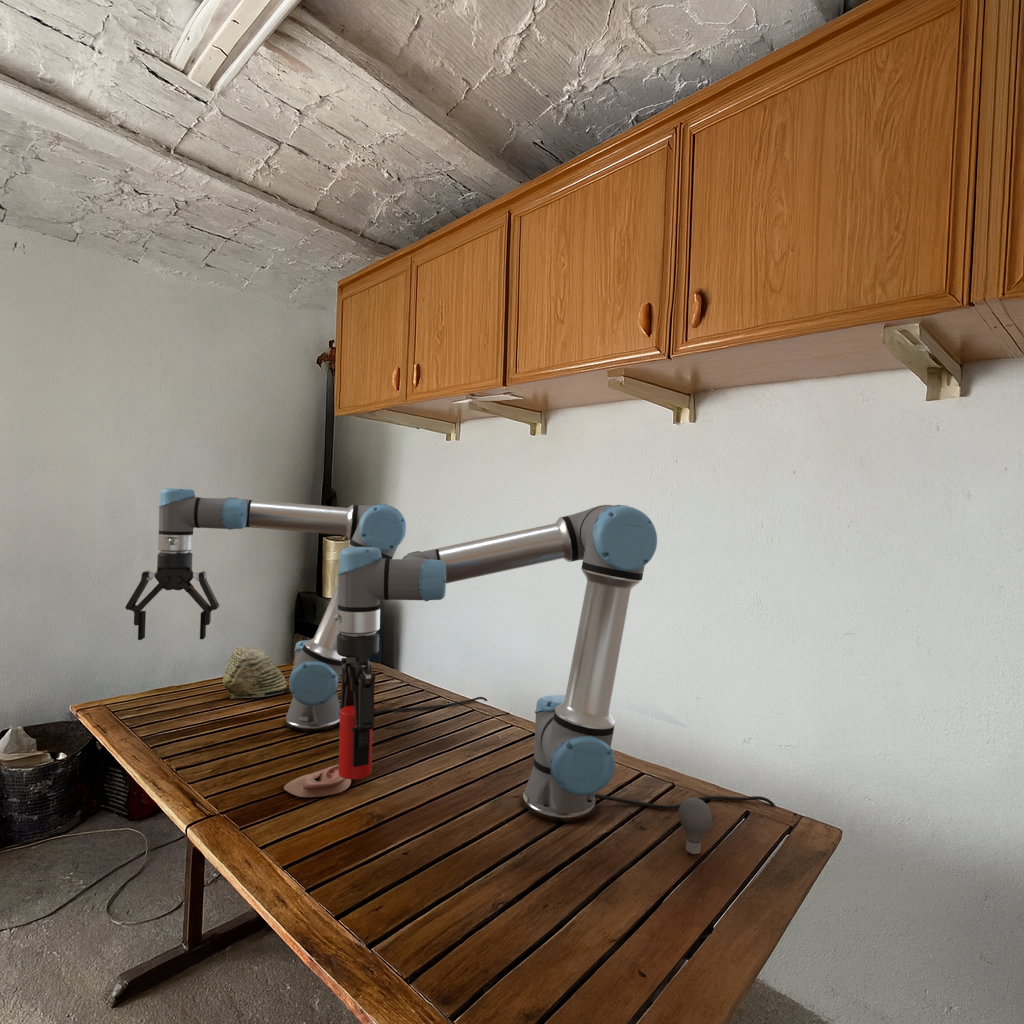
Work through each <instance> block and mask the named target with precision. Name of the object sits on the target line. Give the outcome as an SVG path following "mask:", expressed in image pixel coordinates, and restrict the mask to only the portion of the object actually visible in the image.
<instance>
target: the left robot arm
mask: <svg viewBox="0 0 1024 1024" xmlns="http://www.w3.org/2000/svg"><path fill="white" fill-rule="evenodd" d="M244 528H251V529H253V528H254V529H263V530H264V529H265V530H278V531H290V532H302V533H303V532H304V533H312V534H313V533H314V534H315V533H316V534H326V535H340V536H346V537H347V539H349V540H350V542H349V544H348V546H349V547H374V548H379V549H380V550H381V555H382V558H386V559H394V556H395V553H396V551H397V549H398V547H399V546H400V545H401V544H402V542H403V541H404V539H405V537H406V533H407V523H406V520H405V517H404V515H403V514H402V512H401V511H399V509H398V508H396V507H395V506H393V505H389V504H386V503H376V504H369V505H368V504H367V505H364V504H363V505H362V504H361V505H358V504H351V505H350V506H349V507H339V506H328V505H316V504H306V503H295V502H283V501H282V502H281V501H271V500H270V501H269V500H259V499H247V498H239V497H232V496H231V497H230V496H229V497H225V498H224V497H221V498H220V497H199V496H196V494H195V490H194V489H193V488H192V489H191V488H188V489H187V488H171V487H170V488H169V487H167V488H166V487H165V488H163V489H161V491H160V495H159V505H158V533H157V534H158V535H157V550H158V551H160V552H158V553H157V562H156V571H150V570H145V571H143V572H142V573H141V577H140V581H139V583H138V584H137V586H136V588H135V589H134V591H133V593H132V595H131V597H130V598H129V600H128V602H127V603H126V605H125V606H124V607H125V610H128V611H132V612H133V625H134V626H137V641H142V640H143V639H145V638H146V621H147V620H146V619H147V617H146V615H147V611H146V610H143V609H144V608H145V607H146V606H147V605H148V604H149V603H150V602H151V601H152V600H153V599H155V597H156V596H157V595H158V594H159V593H160V592H161V591H162V590H163V589H164V590H165V591H172V590H174V591H182V590H184V591H185V592H186V593H187V594H188V595H189V596H190V597H191V598H192V599H193V600H194V601H195V603H196V604H197V605H198V606H199V607H200V608H201V609H202V611H201V612H200V619H199V640H204V639H205V638H206V637H207V634H206V633H207V626H209V625H210V624H211V622H212V611H215V610H216V611H217V610H218V609H219V608H220V603H219V601H218V599H217V597H216V596H215V594H214V592H213V590H212V588H211V586H210V584H209V581H208V579H207V572H206V571H204V570H202V571H201V572H194V571H193V553H192V552H191V551H193V549H194V529H215V530H217V529H221V530H230V531H231V530H242V529H244ZM153 579H155V580H156V581H157V582H158V583H157V584H156V586H154V588H153V589H152V590H151V591H150V592H149V593H148V594H147V595H146V596H145V597H144V598H143V599H142V600H141V601H140V602H139V603H138V601H139V599H140V597H141V596H142V595H143V593H144V591H145V589H146V587H147V586H148V584H149V582H150V581H152V580H153ZM193 579H195V580H196V581H197V582H199V585H200V587H201V589H202V591H203V593H204V595H205V597H206V599H207V601H208V602H207V601H206V599H205V598H204V597H203V596H202V595H201V594H200V593H199V591H198V590H197V589H196V588H195V586H194V585H193V584H192V582H191V581H192V580H193ZM137 603H138V604H137ZM336 615H338V584H337V585H336V587H335V590H334V591H333V594H332V597H331V598H330V601H329V603H328V606H327V607H326V609H325V613H324V614H323V616H322V619H321V621H320V623H319V625H318V628H317V630H316V632H315V634H314V636H313V638H312V639H306V640H305V639H303V640H299V641H297V642H296V643H295V648H294V663H293V667H292V670H291V673H290V674H289V678H288V687H289V692H290V695H291V696H292V699H291V702H290V704H289V708H288V711H287V713H286V715H285V726H286V728H287V729H289V730H291V731H294V732H295V731H296V732H301V733H316V732H325V731H329V730H332V729H335V728H337V727H340V710H341V708H340V705H341V701H340V699H339V695H338V688H339V686H338V685H339V680H340V677H341V676H342V664H341V659H342V658H346V657H343V656H340V655H338V653H337V635H338V634H339V633H340V632H339V631H338V630H337V628H338V621H336V620H335V616H336ZM478 700H483V701H484V702H488V699H487V698H486V697H483V696H476V697H474V698H471V699H465V700H460V701H456V702H451V703H444V704H437V705H427V706H413V707H399V708H386V709H379V710H376V711H375V710H374V715H377V714H382V713H389V712H403V711H404V712H405V711H417V710H418V711H419V710H420V711H421V710H429V709H439V708H446V707H452V706H457V705H461V704H466V703H467V704H468V703H472V702H474V701H478Z"/></svg>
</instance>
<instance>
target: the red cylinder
mask: <svg viewBox="0 0 1024 1024" xmlns="http://www.w3.org/2000/svg"><path fill="white" fill-rule="evenodd" d="M351 728H355V712H354V705H349V706H345V707H343V708H341V710H340V725H339V731H338V732H339V735H338V736H339V738H338V740H339V741H338V743H339V744H338V764H339V776H341V777H342V778H345V779H351V780H359V779H363V778H366V777H368V776H370V775H371V773H372V770H373V769H372V767H373V765H372V764H373V729H369V764H367V765H362V766H357V767H353V732H352V730H351Z"/></svg>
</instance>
